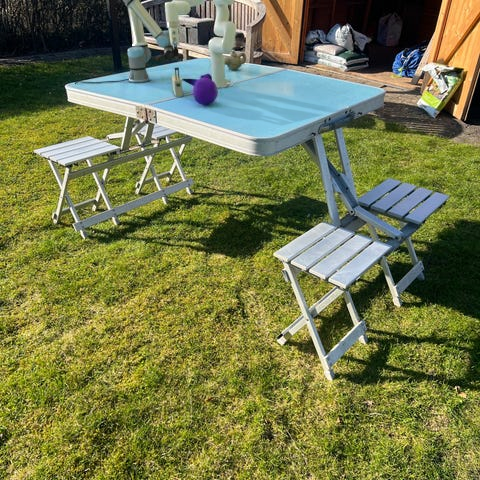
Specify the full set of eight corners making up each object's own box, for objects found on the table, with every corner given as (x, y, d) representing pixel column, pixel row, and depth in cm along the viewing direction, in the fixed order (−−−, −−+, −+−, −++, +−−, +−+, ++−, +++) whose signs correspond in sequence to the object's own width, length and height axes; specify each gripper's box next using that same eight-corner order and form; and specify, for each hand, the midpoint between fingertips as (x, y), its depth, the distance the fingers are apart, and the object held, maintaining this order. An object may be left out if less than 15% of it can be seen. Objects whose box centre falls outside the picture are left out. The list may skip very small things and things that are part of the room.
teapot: (226, 72, 363) (226, 52, 355) (220, 70, 372) (219, 50, 364) (249, 69, 372) (249, 50, 365) (242, 67, 381) (241, 48, 373)
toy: (205, 96, 290) (217, 110, 270) (179, 91, 283) (189, 106, 262) (211, 71, 282) (224, 84, 262) (184, 66, 275) (195, 79, 254)
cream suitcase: (182, 96, 293) (181, 81, 289) (175, 96, 292) (174, 82, 288) (180, 90, 308) (178, 76, 303) (173, 91, 307) (172, 77, 302)
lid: (181, 81, 288) (180, 67, 284) (174, 82, 287) (173, 68, 283) (178, 76, 303) (177, 63, 299) (172, 77, 302) (170, 63, 298)
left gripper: (186, 59, 335) (187, 63, 317) (153, 61, 333) (152, 65, 314) (185, 48, 331) (186, 52, 313) (151, 50, 329) (150, 54, 311)
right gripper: (180, 25, 266) (182, 56, 275) (177, 23, 281) (180, 52, 289) (167, 26, 265) (170, 57, 273) (165, 23, 279) (168, 53, 288)
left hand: (169, 59), depth 314 cm, fingers open, 13 cm apart
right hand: (175, 55), depth 281 cm, fingers open, 9 cm apart
